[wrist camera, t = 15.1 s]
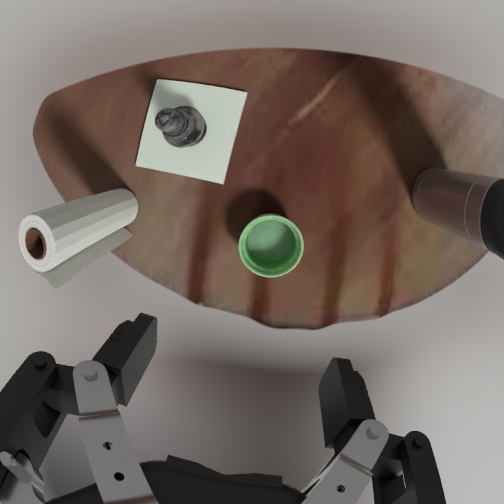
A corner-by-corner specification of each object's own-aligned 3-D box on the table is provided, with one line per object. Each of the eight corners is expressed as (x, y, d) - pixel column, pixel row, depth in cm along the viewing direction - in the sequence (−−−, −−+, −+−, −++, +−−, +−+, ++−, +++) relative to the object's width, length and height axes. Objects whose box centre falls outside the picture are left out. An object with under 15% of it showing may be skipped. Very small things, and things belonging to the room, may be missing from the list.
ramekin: (302, 262, 44) (306, 272, 40) (245, 270, 44) (244, 281, 40) (295, 205, 41) (299, 210, 37) (235, 214, 42) (233, 220, 38)
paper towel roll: (111, 183, 40) (18, 207, 20) (143, 193, 41) (56, 224, 21) (103, 225, 43) (17, 271, 22) (133, 235, 43) (54, 291, 23)
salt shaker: (173, 109, 36) (141, 91, 25) (211, 111, 36) (192, 92, 25) (167, 147, 38) (132, 143, 26) (205, 150, 38) (183, 146, 27)
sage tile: (247, 93, 36) (247, 92, 35) (223, 183, 40) (223, 184, 39) (159, 80, 35) (157, 79, 34) (137, 165, 39) (135, 165, 39)
